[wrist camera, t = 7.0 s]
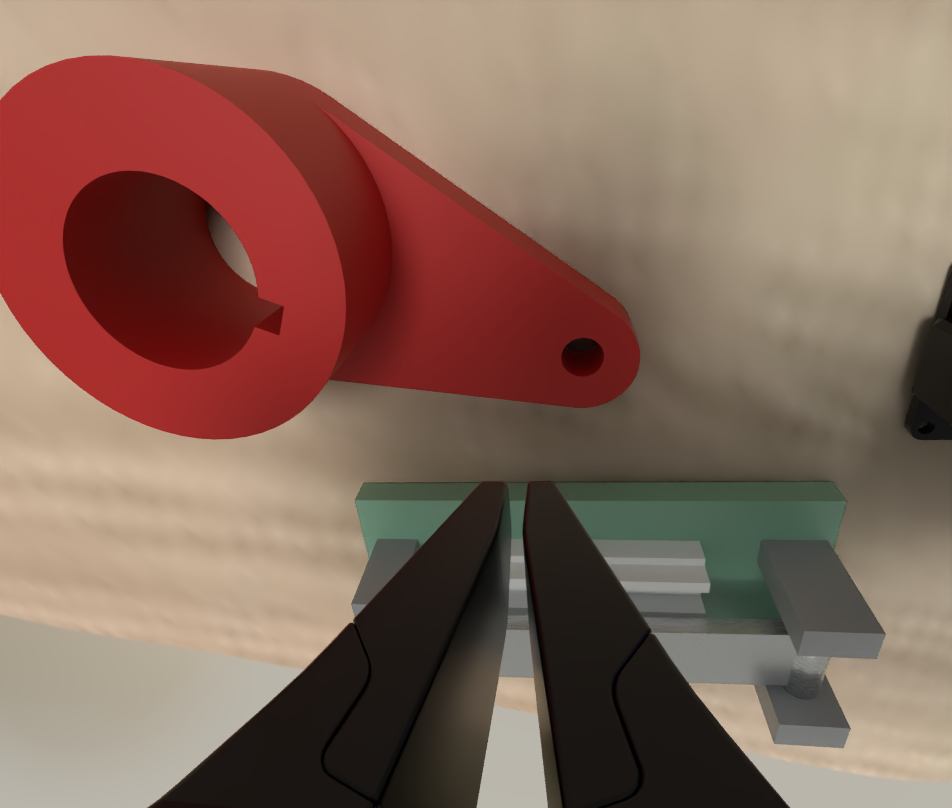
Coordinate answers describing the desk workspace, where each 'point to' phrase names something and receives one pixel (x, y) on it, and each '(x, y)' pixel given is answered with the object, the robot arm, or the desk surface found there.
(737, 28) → the desk surface
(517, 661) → the strap
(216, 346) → the lever
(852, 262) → the desk surface
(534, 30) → the desk surface
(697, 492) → the base
